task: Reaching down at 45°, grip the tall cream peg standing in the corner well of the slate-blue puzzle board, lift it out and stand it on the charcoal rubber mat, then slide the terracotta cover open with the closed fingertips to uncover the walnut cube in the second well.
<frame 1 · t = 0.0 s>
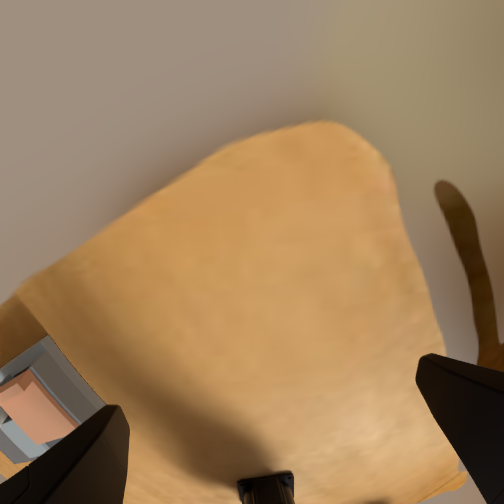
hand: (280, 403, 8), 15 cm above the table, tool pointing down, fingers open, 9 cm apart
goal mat: (6, 440, 23), on the table
puzzle board: (36, 405, 23), on the table
cover: (29, 416, 17), point 5 cm above the table, slide at 0.0 cm
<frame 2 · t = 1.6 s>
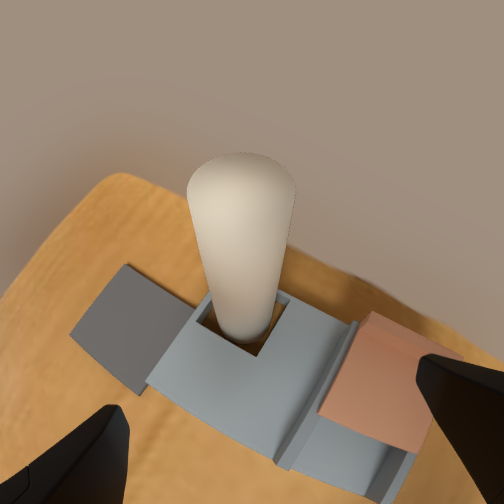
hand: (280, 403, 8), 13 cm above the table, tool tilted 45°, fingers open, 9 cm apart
peg: (244, 319, 23), resting in puzzle board
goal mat: (130, 326, 22), on the table
puzzle board: (296, 386, 20), on the table
cover: (396, 387, 15), point 5 cm above the table, slide at 0.0 cm
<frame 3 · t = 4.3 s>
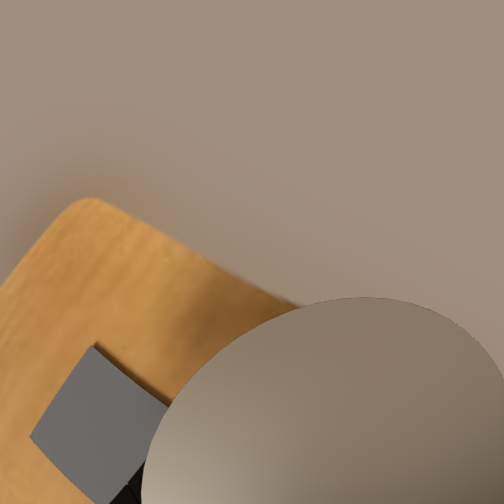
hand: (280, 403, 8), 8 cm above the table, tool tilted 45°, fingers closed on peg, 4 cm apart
peg: (268, 437, 14), resting in puzzle board, touching gripper
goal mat: (105, 438, 13), on the table
when the fingers open (9 cm above the table, at t = 6.7 s): peg stays where it is, resting on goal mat.
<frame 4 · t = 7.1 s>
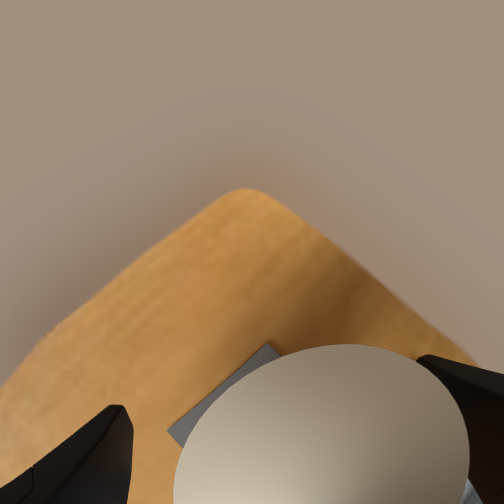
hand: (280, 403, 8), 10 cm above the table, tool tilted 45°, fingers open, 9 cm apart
peg: (267, 437, 15), resting on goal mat
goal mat: (266, 435, 15), on the table
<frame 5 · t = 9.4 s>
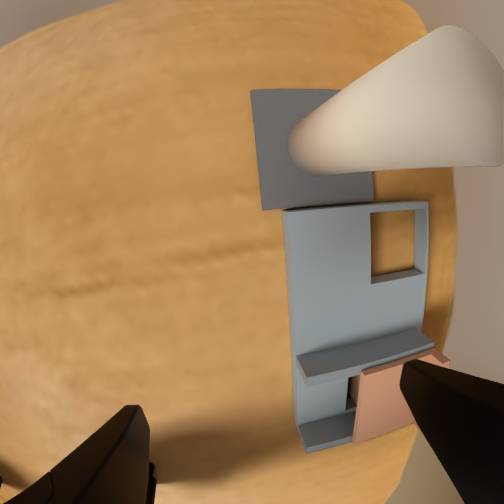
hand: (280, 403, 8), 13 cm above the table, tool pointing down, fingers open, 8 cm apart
peg: (316, 146, 19), resting on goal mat
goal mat: (315, 145, 19), on the table
puzzle board: (358, 321, 22), on the table
cover: (400, 404, 18), point 5 cm above the table, slide at 0.0 cm
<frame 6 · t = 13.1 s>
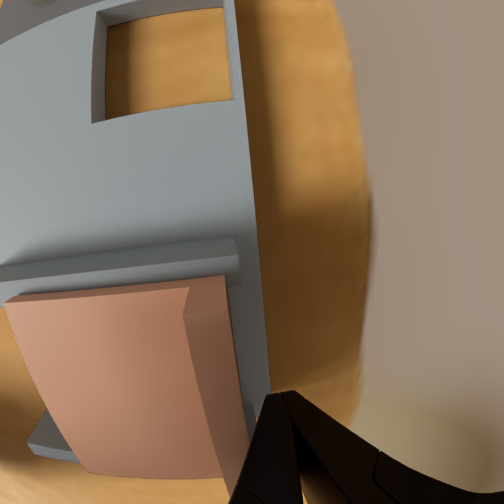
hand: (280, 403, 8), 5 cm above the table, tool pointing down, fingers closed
puzzle board: (109, 218, 11), on the table
cover: (128, 421, 7), point 5 cm above the table, slide at 0.4 cm, touching gripper
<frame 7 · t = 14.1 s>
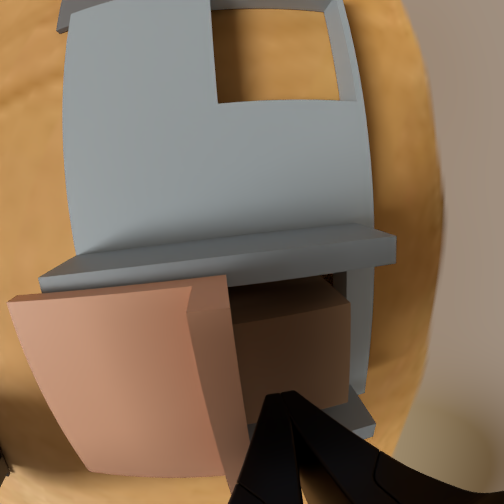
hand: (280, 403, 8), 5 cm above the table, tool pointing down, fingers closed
puzzle board: (220, 204, 11), on the table
cover: (130, 419, 7), point 5 cm above the table, slide at 4.8 cm, touching gripper
walnut cube: (269, 319, 13), resting in puzzle board
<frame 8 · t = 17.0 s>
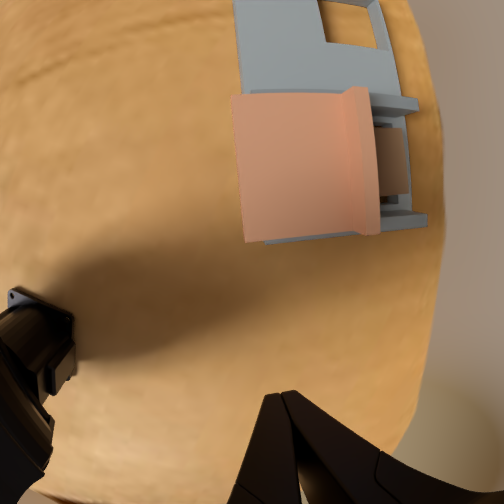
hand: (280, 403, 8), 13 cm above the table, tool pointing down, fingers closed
puzzle board: (323, 94, 18), on the table
cover: (306, 161, 14), point 5 cm above the table, slide at 4.8 cm
walnut cube: (350, 164, 20), resting in puzzle board
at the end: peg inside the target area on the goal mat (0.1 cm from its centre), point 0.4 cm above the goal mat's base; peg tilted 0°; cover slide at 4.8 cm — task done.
